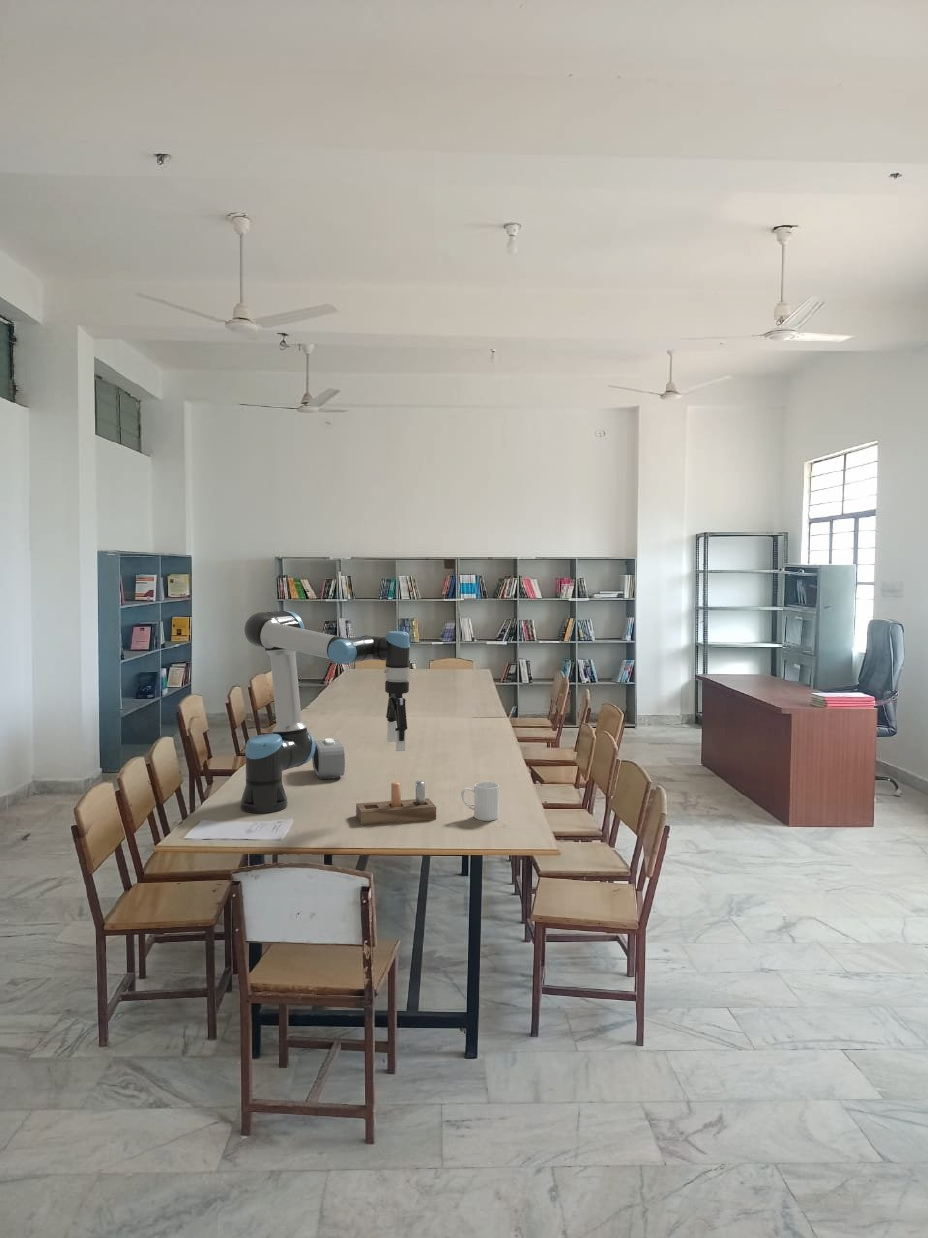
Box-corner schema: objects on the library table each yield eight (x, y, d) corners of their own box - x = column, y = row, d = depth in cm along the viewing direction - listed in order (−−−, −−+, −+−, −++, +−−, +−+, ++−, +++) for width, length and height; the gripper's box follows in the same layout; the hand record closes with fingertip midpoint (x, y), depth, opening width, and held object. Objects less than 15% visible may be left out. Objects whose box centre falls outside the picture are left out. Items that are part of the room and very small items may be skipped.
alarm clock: (311, 769, 325) (311, 735, 324) (335, 767, 328) (335, 734, 327) (319, 782, 306) (319, 746, 305) (344, 780, 309) (344, 745, 308)
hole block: (356, 815, 265) (356, 803, 265) (428, 810, 272) (428, 798, 272) (361, 825, 255) (361, 812, 255) (436, 819, 262) (436, 806, 262)
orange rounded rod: (390, 816, 265) (390, 782, 264) (399, 815, 266) (399, 782, 265) (392, 819, 262) (392, 785, 261) (401, 818, 263) (401, 784, 262)
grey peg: (414, 814, 267) (414, 781, 266) (423, 813, 268) (423, 780, 267) (416, 817, 264) (416, 783, 263) (425, 816, 265) (426, 782, 264)
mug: (494, 813, 270) (495, 781, 269) (501, 820, 262) (501, 788, 261) (458, 815, 267) (459, 783, 266) (464, 822, 259) (464, 789, 259)
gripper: (378, 675, 272) (377, 738, 273) (393, 686, 248) (392, 755, 249) (400, 674, 274) (399, 737, 275) (417, 685, 250) (416, 754, 252)
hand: (395, 746), depth 262 cm, fingers open, 13 cm apart
